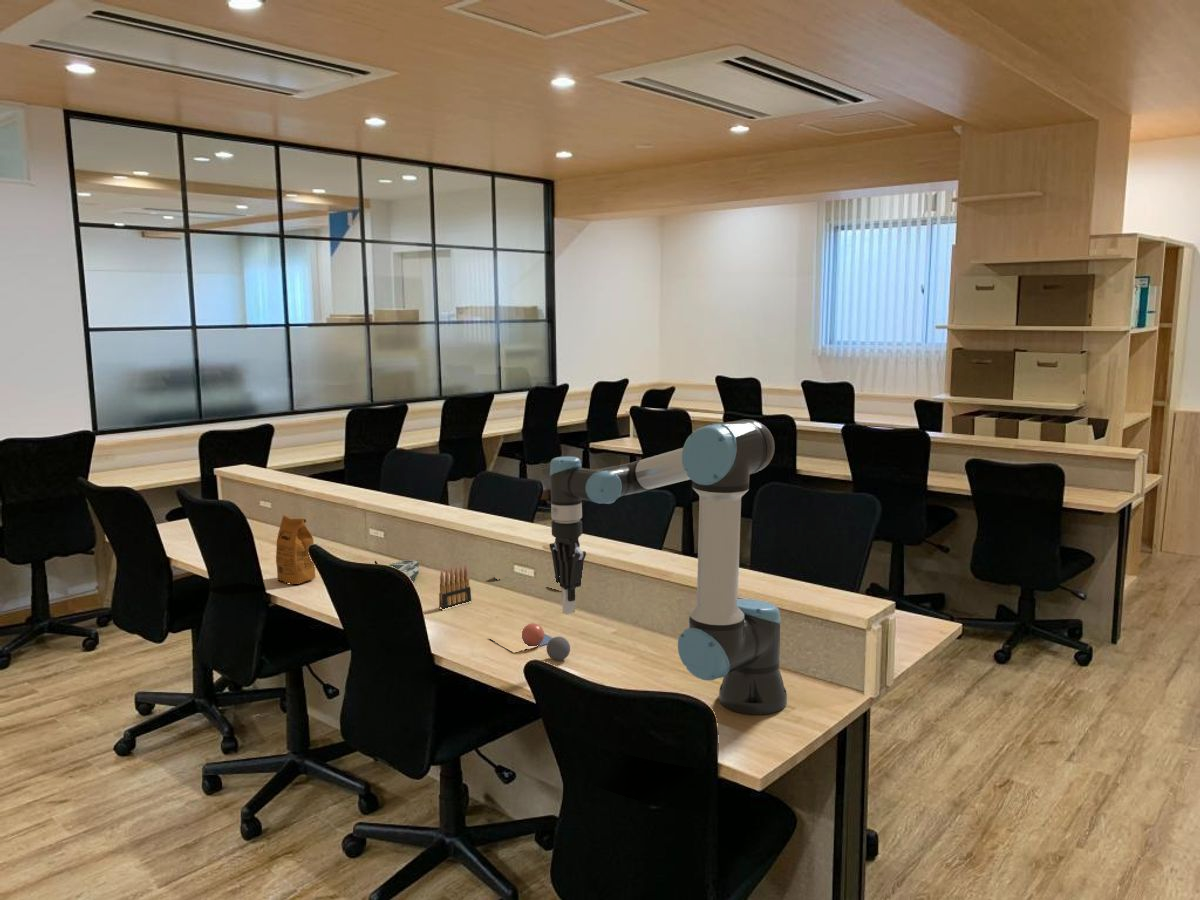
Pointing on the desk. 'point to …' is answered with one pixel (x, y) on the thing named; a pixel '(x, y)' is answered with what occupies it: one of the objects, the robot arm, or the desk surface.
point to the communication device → (407, 567)
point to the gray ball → (558, 648)
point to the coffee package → (294, 552)
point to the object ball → (532, 634)
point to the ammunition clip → (454, 588)
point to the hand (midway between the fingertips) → (568, 612)
